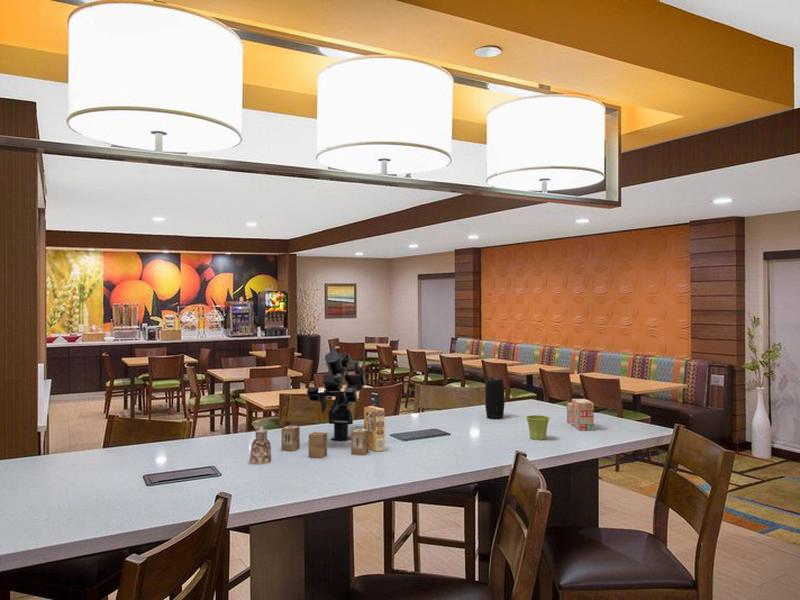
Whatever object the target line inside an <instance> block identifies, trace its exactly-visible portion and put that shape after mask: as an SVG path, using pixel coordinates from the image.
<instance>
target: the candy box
mask: <svg viewBox="0 0 800 600" xmlns="http://www.w3.org/2000/svg"><path fill="white" fill-rule="evenodd" d="M385 423H386V421H385V408H383V407H378V406H373V405H369V406H364V407H363V429H365V430H369V450H371V451H374V452H380V451H385V448H386V447H385V444H386V443H385V442H386V441H385V438H386V437H385V433H386V432H385Z"/></svg>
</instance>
